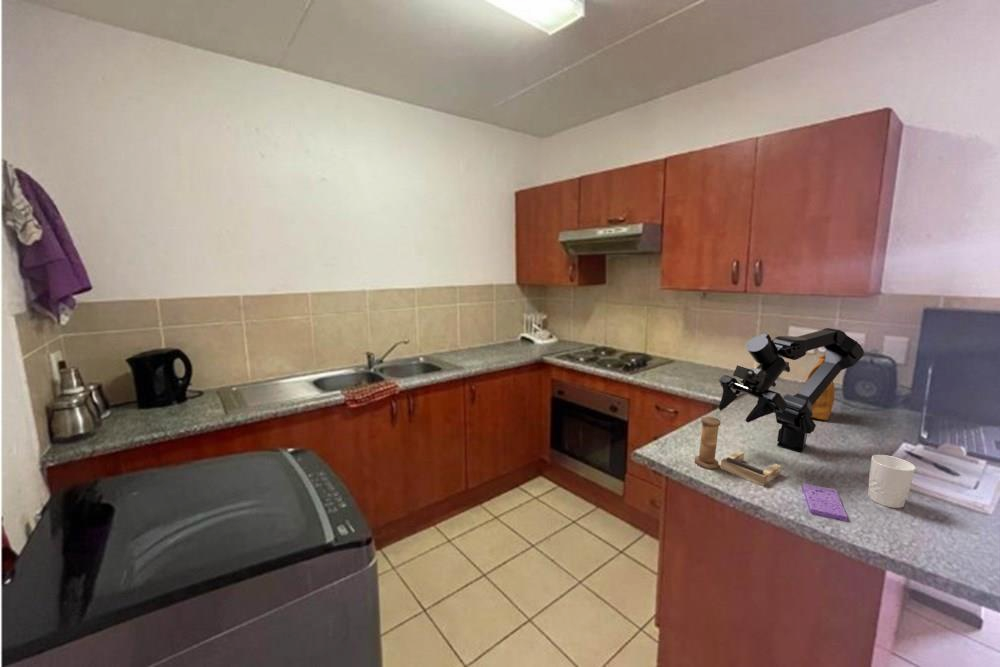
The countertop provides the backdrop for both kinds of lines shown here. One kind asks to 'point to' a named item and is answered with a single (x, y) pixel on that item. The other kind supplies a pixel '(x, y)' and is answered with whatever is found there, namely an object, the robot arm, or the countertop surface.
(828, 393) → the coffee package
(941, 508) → the countertop surface
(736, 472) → the wooden tray
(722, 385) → the robot arm
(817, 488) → the sponges
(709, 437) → the bobbin
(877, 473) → the white cup
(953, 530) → the countertop surface
